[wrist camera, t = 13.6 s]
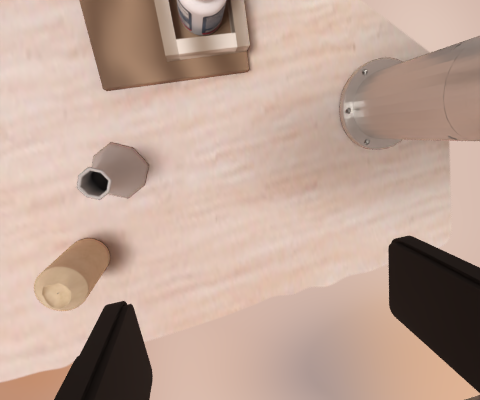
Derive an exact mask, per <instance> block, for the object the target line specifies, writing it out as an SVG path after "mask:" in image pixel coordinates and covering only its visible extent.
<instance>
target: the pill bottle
mask: <svg viewBox="0 0 480 400" xmlns="http://www.w3.org/2000/svg"><path fill="white" fill-rule="evenodd" d="M226 1H227V0H177V7H178V13H179V17H180V20H181V22H182V23H183V25H184V26H185V27H186V28H187V29H188V30H189V31H190V32H192V33H194V34H196V35H201V36H205V35H209V34H212V33H213V32H215V31H216V30H217V29H218V27H219V26H220V24H221V21H222V18H223V14H224V9H225V5H226Z"/></svg>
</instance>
